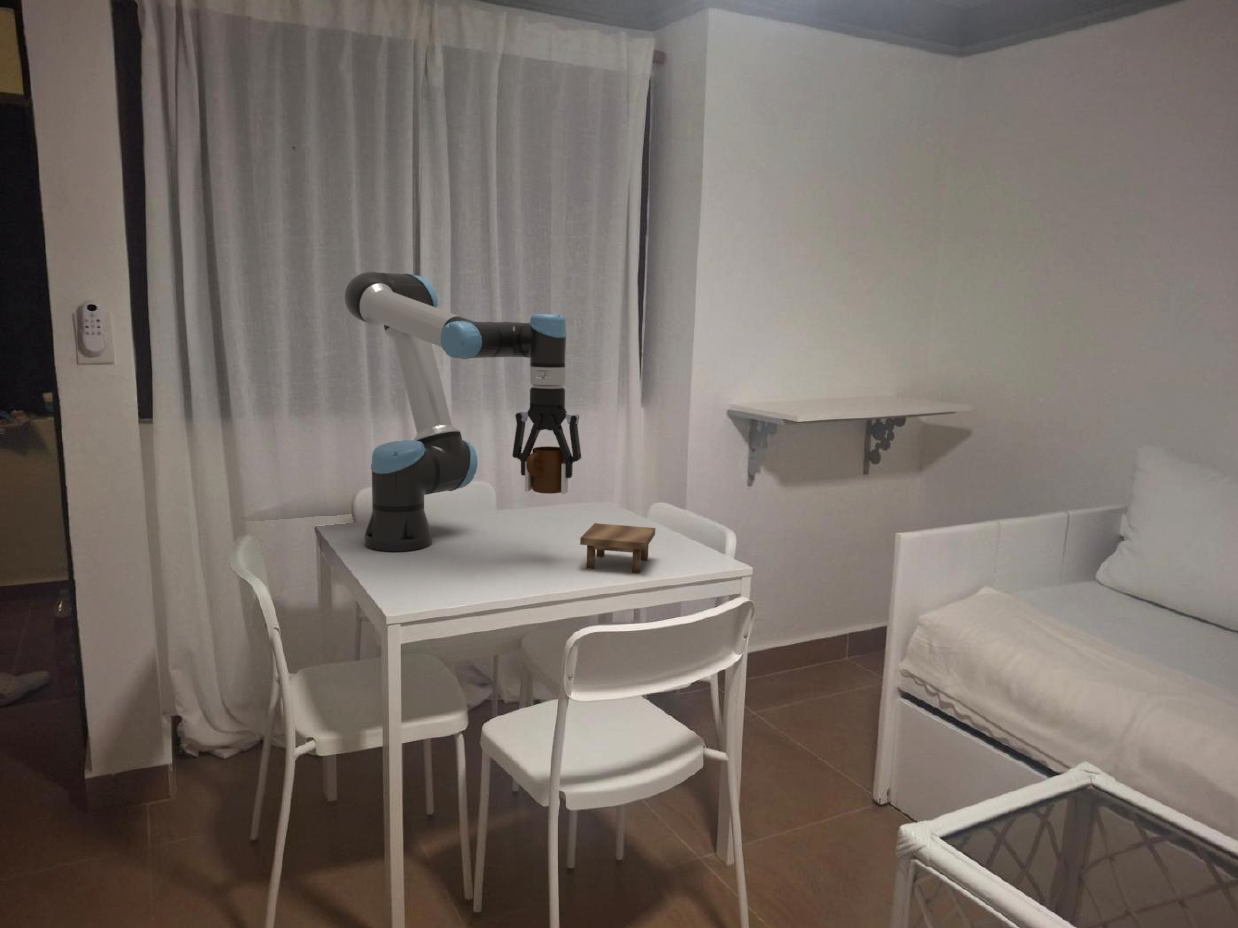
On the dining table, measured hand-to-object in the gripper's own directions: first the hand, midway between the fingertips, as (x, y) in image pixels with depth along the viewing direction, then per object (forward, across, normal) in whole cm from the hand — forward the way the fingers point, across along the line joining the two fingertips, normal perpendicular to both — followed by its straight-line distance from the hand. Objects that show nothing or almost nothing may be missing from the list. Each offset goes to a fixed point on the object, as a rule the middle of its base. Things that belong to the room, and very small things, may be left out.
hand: (546, 491), depth 197 cm
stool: (+16, +16, +2) cm, 22 cm away
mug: (0, -1, 0) cm, 1 cm away
